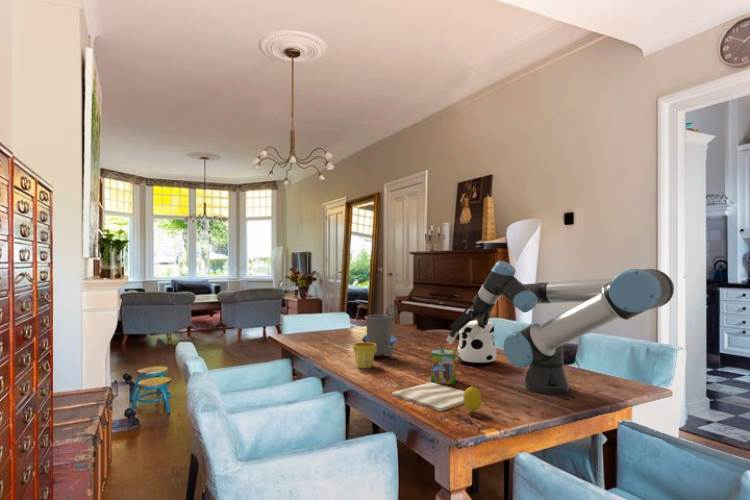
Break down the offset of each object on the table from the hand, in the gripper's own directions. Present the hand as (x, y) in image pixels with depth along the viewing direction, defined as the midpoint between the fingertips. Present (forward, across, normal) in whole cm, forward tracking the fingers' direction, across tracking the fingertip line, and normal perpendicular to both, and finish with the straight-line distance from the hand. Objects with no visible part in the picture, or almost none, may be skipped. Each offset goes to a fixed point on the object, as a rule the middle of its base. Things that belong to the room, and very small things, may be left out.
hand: (459, 340), depth 180 cm
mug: (+43, -3, -32) cm, 54 cm away
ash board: (+7, +25, +16) cm, 30 cm away
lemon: (-3, +28, +31) cm, 42 cm away
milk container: (+20, -28, -2) cm, 35 cm away
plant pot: (+37, +15, -24) cm, 46 cm away
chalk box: (+14, +8, +7) cm, 17 cm away
